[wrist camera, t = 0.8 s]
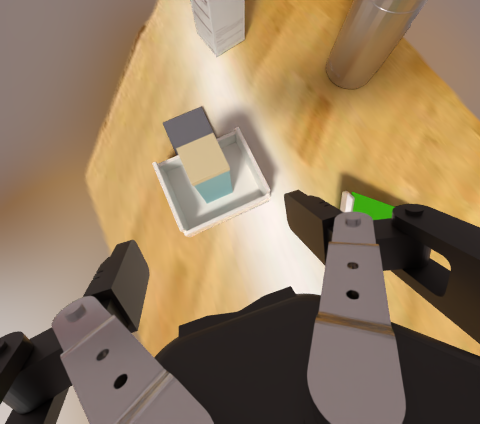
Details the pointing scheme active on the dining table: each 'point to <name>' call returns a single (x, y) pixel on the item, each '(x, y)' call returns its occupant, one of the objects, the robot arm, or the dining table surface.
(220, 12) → the supplement box
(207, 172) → the tea tin
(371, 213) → the green and white wedge
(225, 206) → the tote
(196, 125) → the coaster
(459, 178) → the dining table surface
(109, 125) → the dining table surface
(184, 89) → the dining table surface
